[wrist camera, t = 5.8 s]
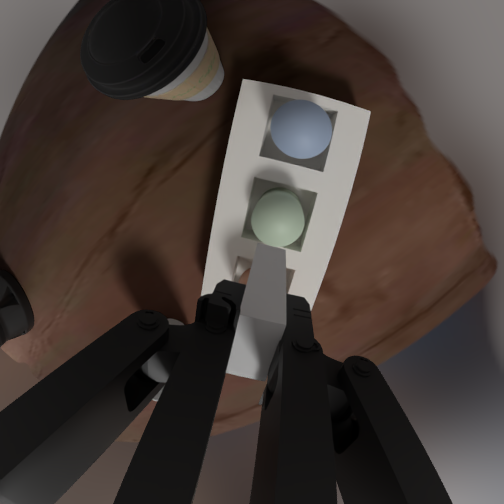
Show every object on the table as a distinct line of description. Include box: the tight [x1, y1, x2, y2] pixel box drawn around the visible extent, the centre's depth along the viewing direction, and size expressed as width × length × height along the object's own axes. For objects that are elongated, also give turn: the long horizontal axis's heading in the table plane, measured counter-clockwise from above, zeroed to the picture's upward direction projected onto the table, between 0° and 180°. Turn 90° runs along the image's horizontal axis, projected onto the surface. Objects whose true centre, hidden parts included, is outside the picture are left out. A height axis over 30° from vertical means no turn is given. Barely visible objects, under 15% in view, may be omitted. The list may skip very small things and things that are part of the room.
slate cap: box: [270, 100, 332, 159], centre depth 21 cm, size 5×5×5 cm
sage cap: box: [251, 187, 305, 247], centre depth 26 cm, size 5×5×5 cm
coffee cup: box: [80, 0, 224, 101], centre depth 18 cm, size 10×9×15 cm
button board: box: [201, 79, 371, 311], centre depth 28 cm, size 12×24×4 cm, turn 168°
